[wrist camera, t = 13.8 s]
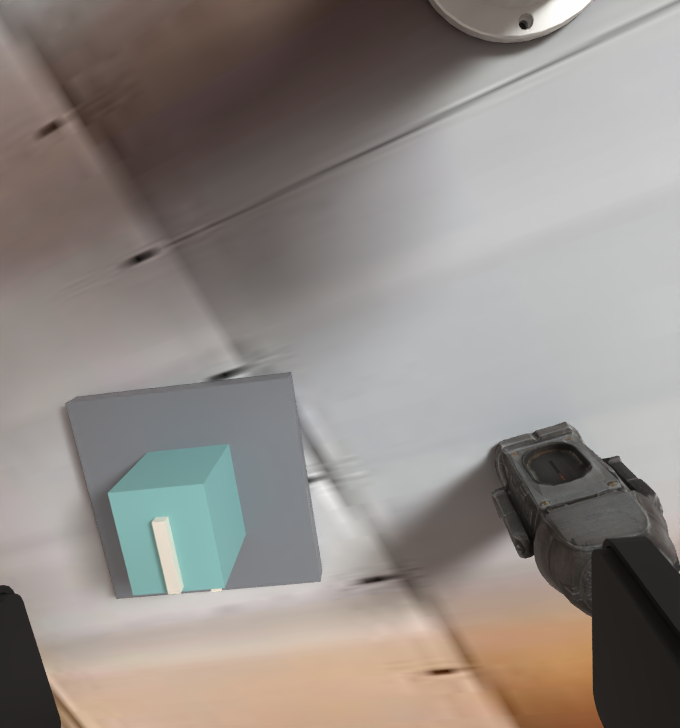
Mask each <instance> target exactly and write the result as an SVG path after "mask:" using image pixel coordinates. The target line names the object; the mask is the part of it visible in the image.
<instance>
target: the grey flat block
mask: <svg viewBox="0 0 680 728" xmlns="http://www.w3.org/2000/svg"><path fill="white" fill-rule="evenodd" d="M65 404H66V408H67V411H68V415H69V419H70V423H71V427H72V431H73V434H74V438H75V442H76V446H77V450H78V454H79V457H80V461H81V465H82V469H83V473H84V476H85V480H86V484H87V488H88V492H89V496H90V499H91V503H92V507H93V511H94V515H95V518H96V522H97V526H98V530H99V534H100V538H101V541H102V545H103V549H104V553H105V557H106V560H107V564H108V568H109V572H110V576H111V580H112V583H113V587H114V591H115V595H116V599H121V598H133V597H145V596H156V595H168V593H158V594H146V595H133V593H132V589H131V585H130V581H129V577H128V573H127V569H126V565H125V561H124V557H123V553H122V549H121V545H120V541H119V537H118V533H117V529H116V525H115V521H114V517H113V513H112V509H111V505H110V501H109V497H108V492H109V491H110V490H111V489H112V488H113V487H114V486H115V485H116V484H117V483H118V482H119V481H120V480H121V479H122V478H123V477H124V476H125V475H126V474H127V473H128V472H129V471H130V470H131V469H132V468H133V467H134V466H135V465H136V464H137V462H138V461H139V460H140V459H141V458H142V457H143V456H144V455H145V454H146V453H147V452H156V451H166V450H175V449H185V448H195V447H205V446H214V445H224V444H229V447H230V452H231V458H232V463H233V468H234V474H235V479H236V484H237V490H238V495H239V500H240V506H241V511H242V516H243V522H244V527H245V532H246V536H245V538H244V541H243V543H242V546H241V548H240V551H239V553H238V556H237V558H236V561H235V563H234V566H233V568H232V571H231V573H230V576H229V579H228V581H227V584H226V586H225V588H219V589H207V590H194V591H182V592H181V593H192V592H204V591H211V592H218V591H222V590H228V589H239V588H251V587H263V586H275V585H287V584H299V583H311V582H321V574H322V566H321V559H320V553H319V547H318V540H317V534H316V528H315V521H314V515H313V508H312V502H311V496H310V489H309V483H308V477H307V470H306V464H305V458H304V451H303V445H302V439H301V432H300V426H299V419H298V413H297V407H296V400H295V394H294V388H293V381H292V375H291V372H289V373H280V374H272V375H263V376H254V377H246V378H237V379H228V380H220V381H211V382H202V383H194V384H185V385H176V386H168V387H159V388H150V389H141V390H133V391H124V392H115V393H107V394H98V395H89V396H81V397H75V398H74V399H72V400H70V401H69V402H67V403H65ZM179 594H180V593H179Z"/></svg>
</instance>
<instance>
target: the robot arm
mask: <svg viewBox="0 0 680 728" xmlns="http://www.w3.org/2000/svg"><path fill="white" fill-rule="evenodd" d="M428 1H429V2H430V4H431V5H432V6H433V8H434V9H435V10H436V11H437V12H438V13H439V14H440V15H441V16H442V17H443V18H444V19H445V20H446V21H447V22H449V23H450V24H451V25H452V26H454V27H456V28H458V29H459V30H461V31H463V32H464V33H466V34H468V35H470V36H473V37H476V38H479V39H482V40H486V41H492V42H501V43H513V42H522V41H529V40H532V39H535V38H538V37H542V36H545V35H548V34H550V33H551V32H553V31H555V30H557V29H559V28H561V27H563V26H564V25H566V24H568V23H569V22H570V21H571V20H573V19H574V18H575V17H576V16H578V15H579V14H580V13H581V12H583V11H584V10H585V9H586V8H587V7H588V6H589V5H590V4H591V3H592V2H593V1H594V0H428ZM519 23H524V24H525V26H526V29H525V30H522V29H521V28H520V27H519ZM591 570H592V652H593V695H594V701H595V705H596V709H597V712H598V715H599V717H600V720H601V722H602V724H603V726H604V728H680V574H679V573H678V572H677V571H676V569H675V568H674V567H673V566H672V565H671V564H670V562H669V561H668V560H667V559H666V558H665V557H664V556H663V554H662V553H661V552H660V551H659V550H658V549H657V547H656V546H655V545H654V544H653V543H652V542H651V540H649V539H648V538H647V537H646V536H632V537H619V538H606V539H605V540H604V542H603V544H602V549H594V550H593V551H592V557H591ZM0 728H61V721H60V716H59V713H58V710H57V707H56V704H55V701H54V697H53V694H52V691H51V688H50V685H49V682H48V678H47V675H46V672H45V669H44V666H43V663H42V659H41V656H40V653H39V650H38V647H37V644H36V640H35V637H34V634H33V631H32V628H31V625H30V621H29V618H28V615H27V612H26V609H25V606H24V603H23V600H22V598H21V597H20V596H19V595H18V594H15V593H14V591H13V590H12V589H11V588H10V587H9V586H5V585H1V586H0Z"/></svg>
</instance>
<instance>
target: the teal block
mask: <svg viewBox="0 0 680 728" xmlns="http://www.w3.org/2000/svg"><path fill="white" fill-rule="evenodd" d="M108 497H109V501H110V505H111V509H112V513H113V517H114V521H115V525H116V529H117V533H118V537H119V541H120V545H121V549H122V553H123V557H124V561H125V565H126V569H127V573H128V577H129V581H130V585H131V589H132V593H133V595H146V594H158V593H168V594H179V593H181V592H182V591H194V590H207V589H219V588H225V586H226V584H227V581H228V579H229V576H230V573H231V571H232V568H233V566H234V563H235V561H236V558H237V556H238V553H239V551H240V548H241V546H242V543H243V541H244V538H245V536H246V532H245V527H244V522H243V516H242V511H241V506H240V500H239V495H238V490H237V484H236V479H235V474H234V468H233V463H232V458H231V452H230V447H229V444H224V445H214V446H205V447H195V448H185V449H175V450H166V451H156V452H147V453H146V454H145V455H144V456H143V457H142V458H141V459H140V460H139V461H138V462H137V464H136V465H135V466H134V467H133V468H132V469H131V470H130V471H129V472H128V473H127V474H126V475H125V476H124V477H123V478H122V479H121V480H120V481H119V482H118V483H117V484H116V485H115V486H114V487H113V488H112V489H111V490H110V491H109V492H108Z"/></svg>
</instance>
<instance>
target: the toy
mask: <svg viewBox="0 0 680 728" xmlns="http://www.w3.org/2000/svg"><path fill="white" fill-rule="evenodd" d="M495 466H496V470H497V474H498V477H499V479H500V481H501V483H502V485H503V487H502V488H500V489H497V490H495V491H494V492H492V498H493V501H494V504H495V506H496V509H497V512H498V515H499V517H500V518H502V519H503V521H504V523H505V525H506V527H507V529H508V532H509V534H510V537H511V539H512V542H513V544H514V546H515V548H516V551H517V553H518V555H519V556H520V557H521V558H528V557H532V556H533V555H534V556H535V561H536V564H537V567H538V569H539V571H540V573H541V574H542V576H543V577H544V578H545V579H546V581H547V582H548V583H549V584H550V585H551V586H552V587H554V588H555V589H556V590H558V591H559V592H560V593H562V594H564V595H565V596H566V598H567V599H568V600H569V601H570V602H571V603H572V604H573V605H574V606H576V607H577V608H579V609H580V610H581V611H583V612H584V613H586V614H587V615H589V616H591V617H592V570H591V557H592V551H593V550H594V549H602V544H603V542H604V540H605V539H606V538H619V537H632V536H646V537H647V538H648V539H649V540H651V542H652V543H653V544H654V545H655V546H656V547H657V549H658V550H659V551H660V552H661V553H662V554H663V556H664V557H665V558H666V559H667V560H668V561H669V562H670V564H671V565H672V566H673V567H674V568H675V569H676V571H677V572H678V573H679V571H680V564H679V560H678V557H677V554H676V550H675V547H674V545H673V543H672V541H671V539H670V537H669V536H668V529H667V524H666V521H665V519H664V517H663V510H662V506H661V504H660V501H659V498H658V496H657V494H656V493H655V492H654V491H653V490H652V489H651V488H650V487H649V486H648V485H647V484H646V483H645V482H644V481H643V480H642V479H638V478H637V477H636V476H635V475H634V474H633V473H632V472H631V471H630V470H629V469H628V468H627V467H626V466H625V465H624V464H623V463H622V461H621V459H620V457H619V456H615V457H611V458H604V459H601V458H600V457H598V456H597V455H596V454H595V453H594V452H593V451H592V450H590V449H589V448H588V447H587V446H586V445H585V443H584V441H583V440H582V438H581V436H580V435H579V433H578V431H577V430H576V429H575V428H574V427H572V426H571V425H569V424H568V423H567V422H563V423H561V424H558V425H555V426H551V427H548V428H544V429H540V430H537V431H536V432H535V433H534V434H524V435H520V436H517V437H514V438H510V439H507V440H503V441H501V442H500V444H499V445H498V447H497V449H496V451H495Z"/></svg>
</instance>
